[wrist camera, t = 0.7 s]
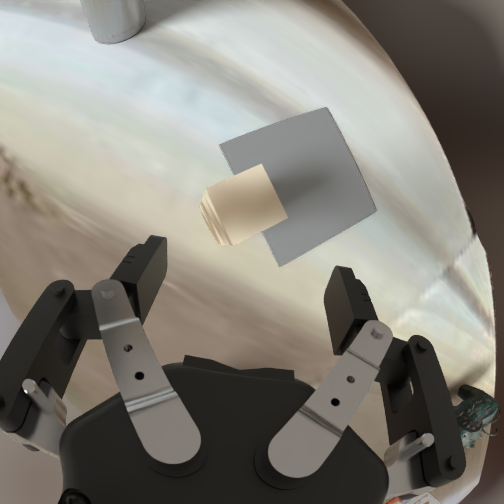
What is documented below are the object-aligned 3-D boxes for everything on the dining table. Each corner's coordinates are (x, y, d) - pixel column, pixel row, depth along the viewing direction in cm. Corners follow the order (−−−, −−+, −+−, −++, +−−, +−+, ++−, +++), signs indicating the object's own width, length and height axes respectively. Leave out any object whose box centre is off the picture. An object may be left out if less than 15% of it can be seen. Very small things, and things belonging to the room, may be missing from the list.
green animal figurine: (415, 421, 47) (472, 460, 28) (423, 399, 47) (485, 436, 27) (462, 396, 52) (513, 422, 32) (468, 376, 51) (522, 399, 32)
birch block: (198, 208, 35) (206, 188, 22) (233, 191, 36) (261, 163, 22) (216, 243, 36) (234, 245, 22) (250, 226, 37) (288, 217, 23)
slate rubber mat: (219, 145, 35) (219, 144, 35) (325, 107, 39) (326, 106, 38) (279, 266, 38) (279, 266, 37) (375, 211, 41) (376, 211, 41)
